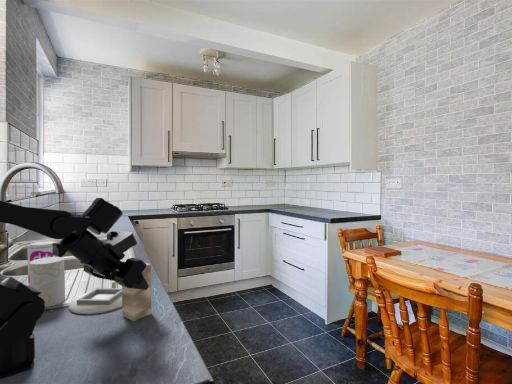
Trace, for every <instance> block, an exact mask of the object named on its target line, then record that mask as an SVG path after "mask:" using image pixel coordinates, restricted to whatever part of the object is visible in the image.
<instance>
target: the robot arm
mask: <svg viewBox="0 0 512 384" xmlns="http://www.w3.org/2000/svg"><path fill="white" fill-rule="evenodd" d="M122 216H123V211H122V210H121V209H120V208H119V207H118V206H117V205H116V206H115V204H112V203H111V202H109V201H106V200H105V198H103V197H96V198H95V199H94V200H93V201H92V203H91V205H90V206H88V207H87V209H86V210H85V211H84V212H83V213H82V214H77V213H73V214H72V213H71V212H68V211H66V210H61V209H50V208H43V207H41V208H40V207H32V206H23V205H20V204H19V205H18V204H16V203H15V204H14V203H11V202H7V201H3V200H0V223H4V224H8V225H12V226H15V227H18V228H20V229H22V230H26V231H28V232H30V233H34V234H35V235H36V234H37V235H38V236H39V235H40V236H42V237H46V238H49V239H54V240H60V241H57V243H53V244H52V246H53V250H52V255H55V256H57V257H63V258H64V255H65V254H67V253H68V254H69V255H71V256H73V257H74V258H75V259H77V260H79V261H80V262H79V263H80V264H81V265H83V272H84V273H86V274H88V275H89V276H92V277H94V278H98V279H102V280H106V281H112V282H116V284H118V285H119V286H121V287H122V286H123V287H126V288H133V289H142V290H147V288H148V287H149V285H148V284H147V282H146V280H145V278H144V276H143V274H142V272H143V271H144V269H145V268H146V263H147V262H145V261H143V260H142V259H140V258H136V257H129V258H127V259H126V261H121V260H123V259H124V258H125V256H126V254H125V252H127V251H129V249H131V248H133V247H135V246H136V245H137V244H138V241H137V239H136V238H135V237H136V236H135V235H134V233H133V232H132V231H127V230H122V231H119V232H117V231H116V230H111V229H112V228H113V227H114V225H115V224H116V223H117V222H118V221H119V219H120V218H121V217H122ZM93 233H94V234H93ZM95 234H96V235H97V236H100V235H101V234H104V235H105V234H106V242H103V241H102V240H101V239H99V238H98V237H97V236H96V235H95ZM39 294H41V292H39V291H37V290H36V289H34V288H32V287H30V286H29V285H28V284H27V285H26V284H24V283H23V282H21V281H19V280H18V279H16V278H14V277H13V276H9V278H8V279H7V281H6V282H1V281H0V379H1V377H2V378H4V377H7V376H10V375H13V374H17V373H20V372H23V371H26V370H29V369H32V368H33V360H35V358H36V347H35V345H36V344H35V334H34V331H35V328H36V325H37V322H38V320H39V319H40V318H41V317H42V315H43V314H44V313H45V308H46V307H45V301H44V300H43V299H42V298H41V297H39V296H38V295H39Z"/></svg>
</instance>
